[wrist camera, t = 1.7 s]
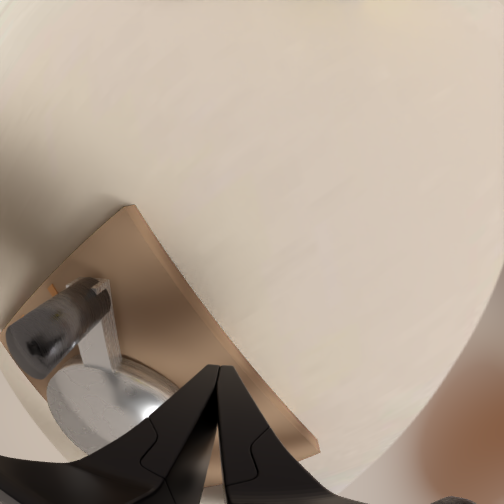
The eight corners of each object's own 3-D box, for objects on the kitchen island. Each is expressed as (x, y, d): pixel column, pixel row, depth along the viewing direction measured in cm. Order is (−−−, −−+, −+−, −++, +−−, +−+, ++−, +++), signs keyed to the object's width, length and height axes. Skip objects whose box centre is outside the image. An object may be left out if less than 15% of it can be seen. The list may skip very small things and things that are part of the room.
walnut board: (317, 439, 19) (320, 453, 17) (160, 483, 21) (158, 494, 19) (135, 204, 15) (123, 206, 13) (7, 329, 17) (-3, 337, 15)
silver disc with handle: (212, 472, 17) (205, 536, 11) (85, 445, 17) (59, 495, 11) (200, 280, 14) (162, 356, 7) (25, 266, 13) (-48, 302, 7)
